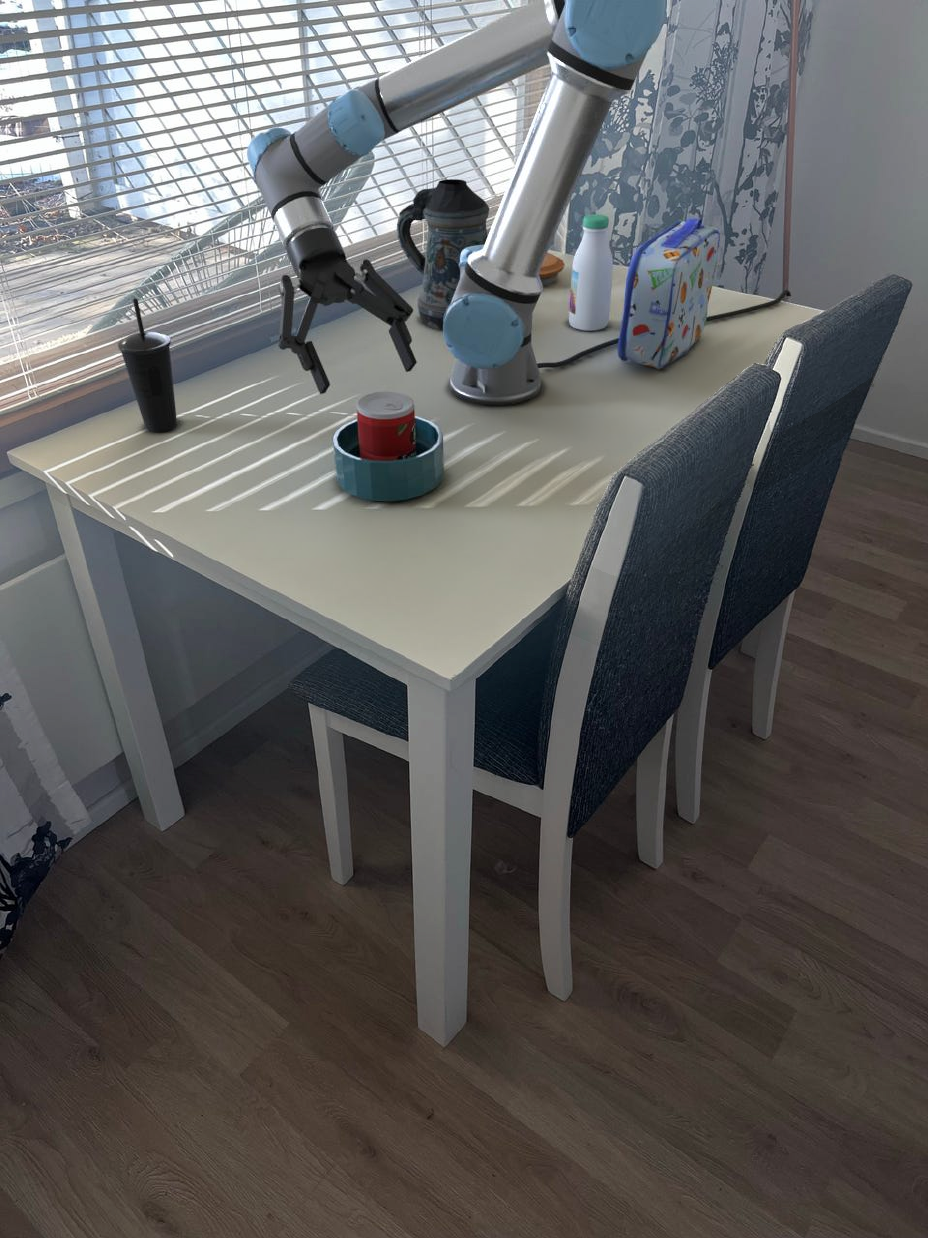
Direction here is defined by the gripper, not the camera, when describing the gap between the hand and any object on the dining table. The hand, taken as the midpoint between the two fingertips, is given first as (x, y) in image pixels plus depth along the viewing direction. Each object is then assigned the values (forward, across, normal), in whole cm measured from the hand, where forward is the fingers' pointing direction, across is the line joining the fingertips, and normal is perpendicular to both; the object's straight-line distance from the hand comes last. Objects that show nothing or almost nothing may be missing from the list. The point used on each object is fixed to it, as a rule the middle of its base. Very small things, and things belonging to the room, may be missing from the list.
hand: (369, 378), depth 133 cm
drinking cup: (-12, +22, -31) cm, 40 cm away
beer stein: (-23, -43, -42) cm, 64 cm away
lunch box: (+3, -65, -16) cm, 67 cm away
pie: (-30, -69, -49) cm, 90 cm away
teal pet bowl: (+13, 0, -6) cm, 14 cm away
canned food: (+12, 0, -6) cm, 14 cm away
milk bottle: (-10, -63, -29) cm, 70 cm away
